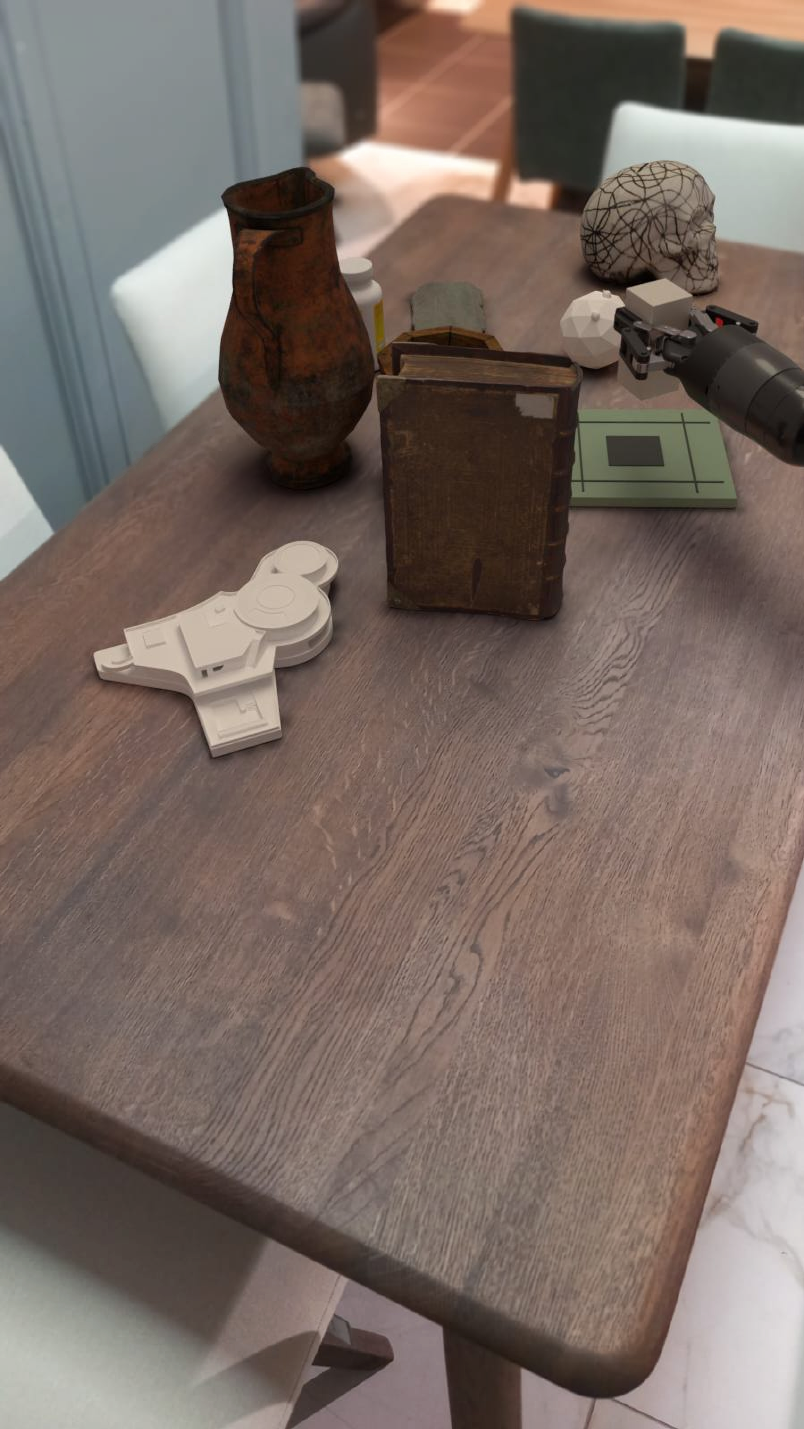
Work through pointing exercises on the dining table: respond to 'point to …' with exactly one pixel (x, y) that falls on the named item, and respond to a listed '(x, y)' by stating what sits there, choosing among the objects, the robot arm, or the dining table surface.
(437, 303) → the stone slab
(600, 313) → the decorative ball
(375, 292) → the supplement bottle
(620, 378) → the beige rectangular block
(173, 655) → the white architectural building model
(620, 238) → the sculpture
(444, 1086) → the dining table surface
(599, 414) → the grid board
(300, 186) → the pitcher
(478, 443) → the book
